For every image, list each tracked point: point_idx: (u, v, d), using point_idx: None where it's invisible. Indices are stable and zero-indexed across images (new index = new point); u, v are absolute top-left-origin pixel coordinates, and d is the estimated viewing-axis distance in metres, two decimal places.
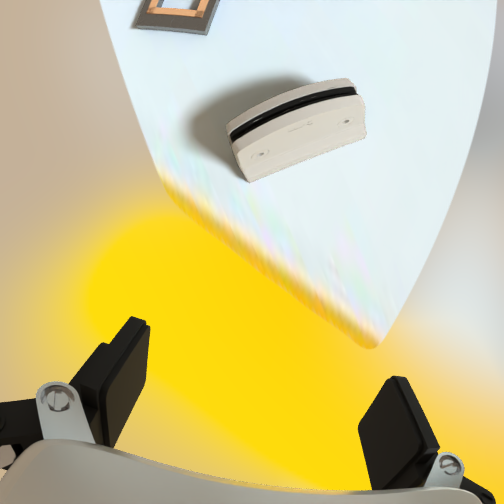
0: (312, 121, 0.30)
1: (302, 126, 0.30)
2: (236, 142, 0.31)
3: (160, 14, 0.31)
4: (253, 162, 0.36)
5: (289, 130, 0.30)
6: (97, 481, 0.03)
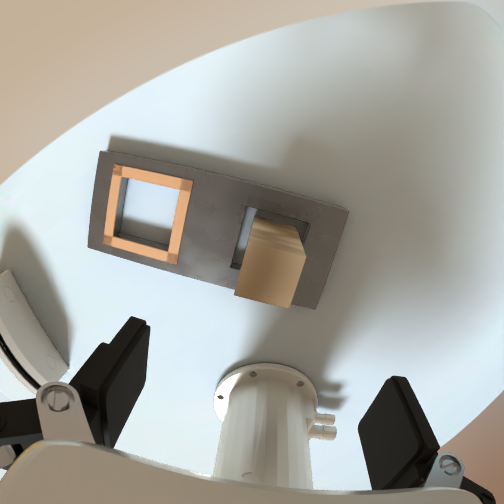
0: None
1: None
2: None
3: (110, 185, 0.28)
4: None
5: None
6: (97, 481, 0.03)
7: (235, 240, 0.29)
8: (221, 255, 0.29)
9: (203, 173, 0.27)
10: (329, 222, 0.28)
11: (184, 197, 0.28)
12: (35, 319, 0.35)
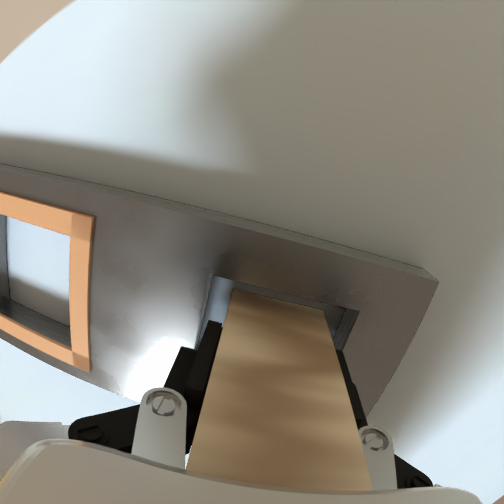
0: None
1: None
2: None
3: None
4: None
5: None
6: (97, 481, 0.03)
7: (192, 344, 0.13)
8: (167, 368, 0.13)
9: (112, 199, 0.11)
10: (397, 307, 0.12)
11: (80, 253, 0.12)
12: None
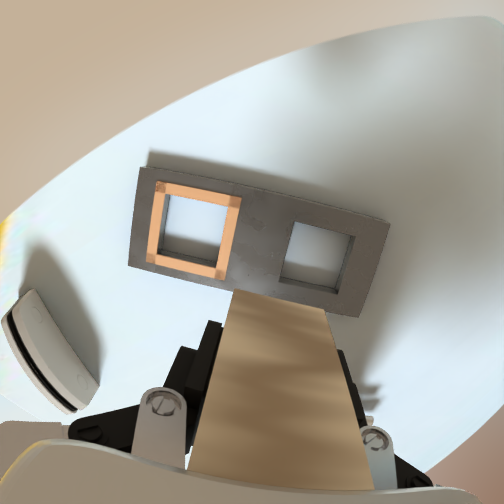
0: None
1: None
2: (5, 321, 0.28)
3: (152, 203, 0.29)
4: None
5: None
6: (97, 481, 0.03)
7: (284, 255, 0.29)
8: (270, 270, 0.30)
9: (251, 190, 0.28)
10: (372, 235, 0.28)
11: (233, 214, 0.28)
12: (63, 339, 0.36)
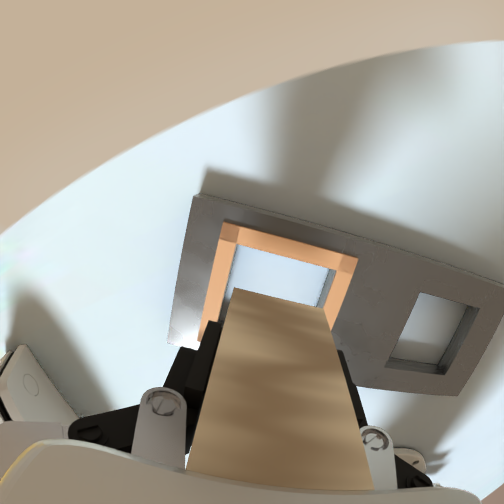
0: None
1: None
2: None
3: (213, 256, 0.18)
4: None
5: None
6: (97, 481, 0.03)
7: (398, 335, 0.19)
8: (377, 354, 0.20)
9: (373, 247, 0.18)
10: (495, 305, 0.18)
11: (342, 282, 0.18)
12: (68, 408, 0.25)
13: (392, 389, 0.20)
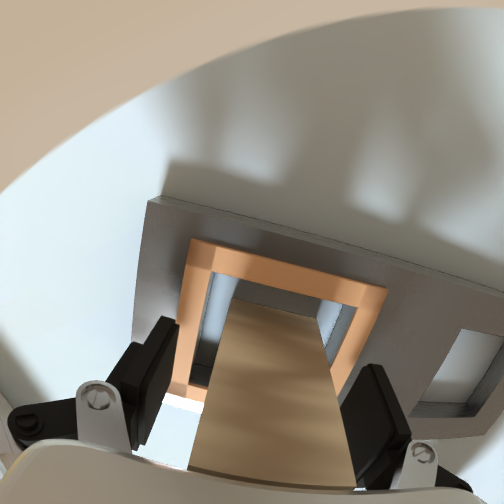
0: None
1: None
2: None
3: (179, 288, 0.12)
4: None
5: None
6: (97, 481, 0.03)
7: (429, 381, 0.13)
8: (401, 404, 0.14)
9: (409, 273, 0.12)
10: None
11: (365, 322, 0.12)
12: None
13: (413, 438, 0.15)
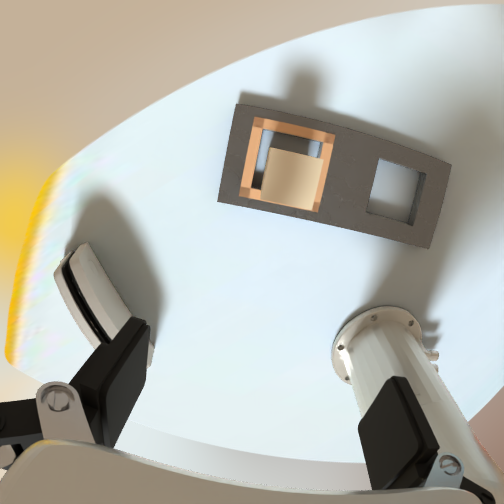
0: None
1: None
2: (60, 274, 0.28)
3: (249, 137, 0.29)
4: None
5: None
6: (97, 481, 0.03)
7: (370, 188, 0.30)
8: (358, 202, 0.31)
9: (343, 128, 0.29)
10: (438, 173, 0.29)
11: (327, 149, 0.29)
12: (119, 296, 0.37)
13: (375, 234, 0.32)
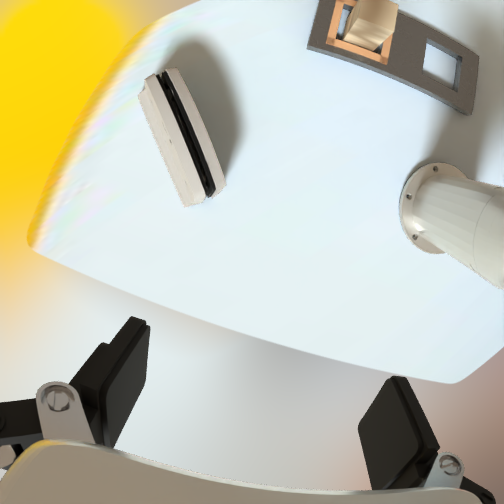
0: (171, 144, 0.30)
1: (167, 135, 0.30)
2: (153, 76, 0.28)
3: (333, 7, 0.29)
4: (148, 97, 0.33)
5: (162, 123, 0.30)
6: (97, 481, 0.03)
7: (423, 56, 0.30)
8: (416, 64, 0.31)
9: (400, 14, 0.29)
10: (470, 59, 0.29)
11: None
12: None
13: (430, 91, 0.32)
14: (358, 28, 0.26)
